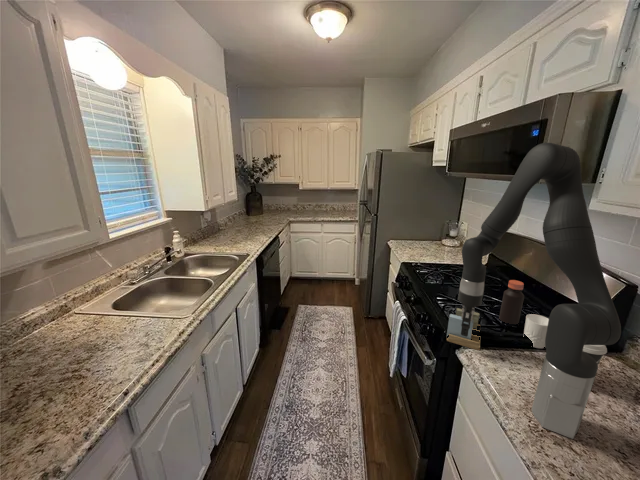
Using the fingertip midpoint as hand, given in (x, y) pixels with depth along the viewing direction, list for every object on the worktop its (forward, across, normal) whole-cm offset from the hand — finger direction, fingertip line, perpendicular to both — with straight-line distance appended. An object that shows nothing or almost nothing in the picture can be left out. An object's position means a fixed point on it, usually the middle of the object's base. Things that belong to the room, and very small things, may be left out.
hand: (465, 329), depth 99 cm
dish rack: (+5, +4, 0) cm, 7 cm away
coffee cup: (+6, -3, -31) cm, 32 cm away
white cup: (+6, +13, -23) cm, 27 cm away
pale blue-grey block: (+5, 0, +2) cm, 5 cm away
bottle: (+6, +21, -15) cm, 27 cm away
